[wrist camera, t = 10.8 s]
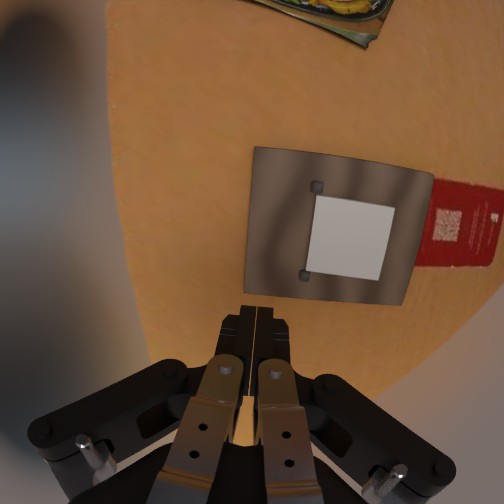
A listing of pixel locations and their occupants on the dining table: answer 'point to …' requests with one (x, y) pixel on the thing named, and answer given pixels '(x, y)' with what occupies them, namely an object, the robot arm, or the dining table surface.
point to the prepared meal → (340, 15)
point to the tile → (349, 237)
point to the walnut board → (301, 219)
